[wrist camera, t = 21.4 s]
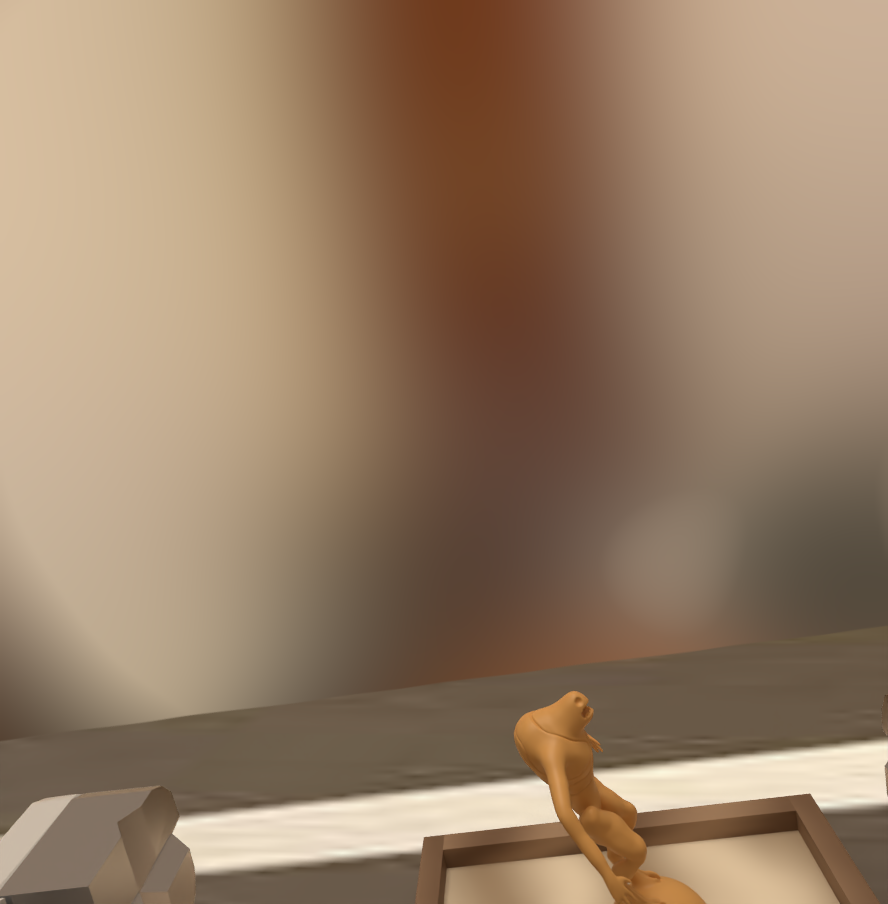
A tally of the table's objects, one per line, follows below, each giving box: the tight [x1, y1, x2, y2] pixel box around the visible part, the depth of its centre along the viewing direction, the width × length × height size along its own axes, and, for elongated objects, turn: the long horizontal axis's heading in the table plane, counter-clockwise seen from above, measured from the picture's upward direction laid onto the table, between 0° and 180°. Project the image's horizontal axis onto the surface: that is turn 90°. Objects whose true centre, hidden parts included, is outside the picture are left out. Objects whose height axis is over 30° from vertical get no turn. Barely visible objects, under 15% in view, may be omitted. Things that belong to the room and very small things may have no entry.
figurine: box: [514, 691, 706, 904], centre depth 27 cm, size 8×6×12 cm
